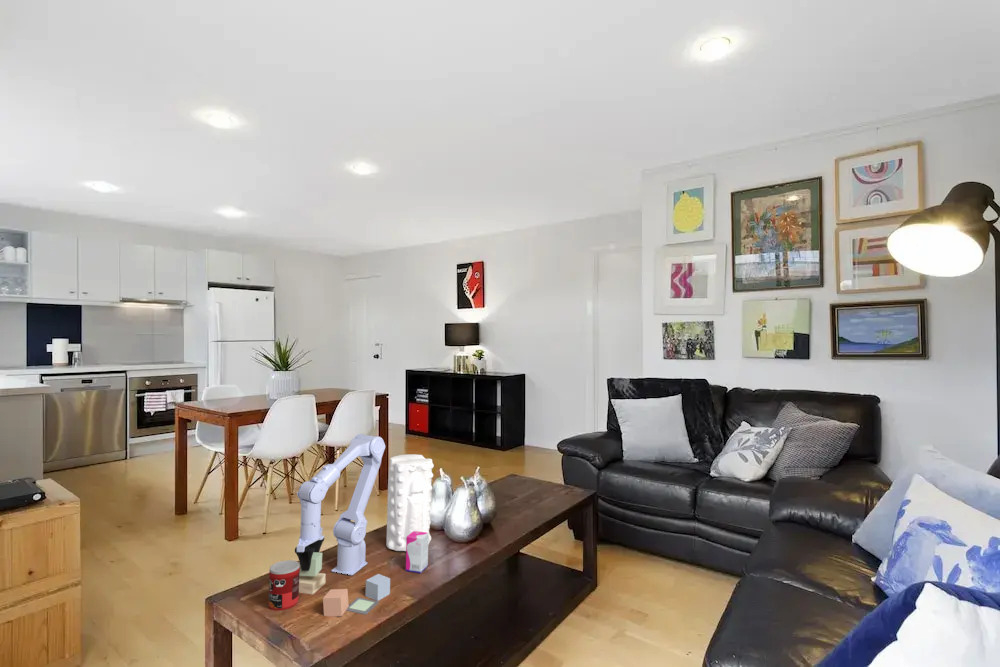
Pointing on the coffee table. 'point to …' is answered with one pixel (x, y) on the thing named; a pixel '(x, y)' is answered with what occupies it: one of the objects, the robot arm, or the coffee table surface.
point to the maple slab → (311, 583)
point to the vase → (408, 498)
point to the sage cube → (313, 565)
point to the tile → (362, 606)
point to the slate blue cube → (377, 587)
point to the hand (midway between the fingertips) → (309, 566)
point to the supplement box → (417, 551)
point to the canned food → (284, 585)
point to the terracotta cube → (335, 602)
